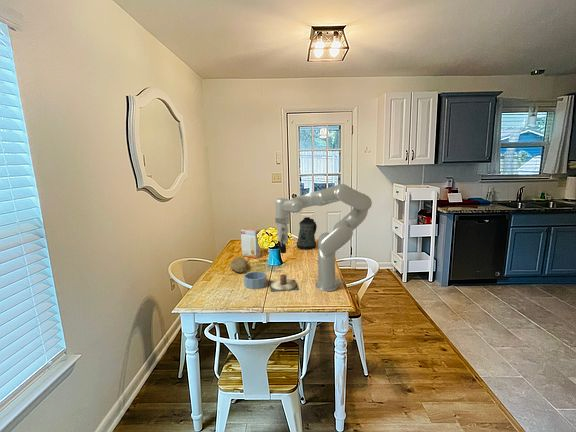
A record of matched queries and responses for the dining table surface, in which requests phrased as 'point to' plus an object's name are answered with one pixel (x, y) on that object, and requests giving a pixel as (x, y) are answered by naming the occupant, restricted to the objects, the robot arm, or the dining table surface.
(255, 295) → the dining table surface
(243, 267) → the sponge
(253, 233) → the cracker box
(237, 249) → the dining table surface
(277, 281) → the lid
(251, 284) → the cup
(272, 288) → the mat
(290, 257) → the dining table surface
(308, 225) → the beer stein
